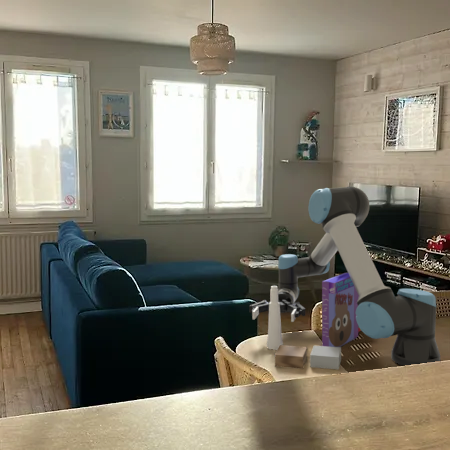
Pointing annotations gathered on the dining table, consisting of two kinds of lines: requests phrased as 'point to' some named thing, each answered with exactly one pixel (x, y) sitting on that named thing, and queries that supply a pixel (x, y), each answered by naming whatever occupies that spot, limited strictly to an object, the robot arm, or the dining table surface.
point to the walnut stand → (291, 356)
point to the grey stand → (325, 357)
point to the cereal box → (339, 311)
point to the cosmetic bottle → (274, 321)
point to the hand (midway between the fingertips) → (272, 316)
